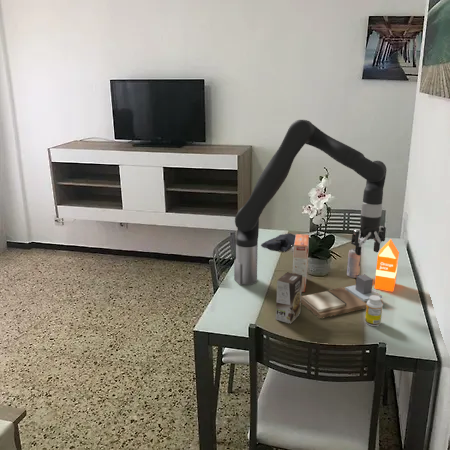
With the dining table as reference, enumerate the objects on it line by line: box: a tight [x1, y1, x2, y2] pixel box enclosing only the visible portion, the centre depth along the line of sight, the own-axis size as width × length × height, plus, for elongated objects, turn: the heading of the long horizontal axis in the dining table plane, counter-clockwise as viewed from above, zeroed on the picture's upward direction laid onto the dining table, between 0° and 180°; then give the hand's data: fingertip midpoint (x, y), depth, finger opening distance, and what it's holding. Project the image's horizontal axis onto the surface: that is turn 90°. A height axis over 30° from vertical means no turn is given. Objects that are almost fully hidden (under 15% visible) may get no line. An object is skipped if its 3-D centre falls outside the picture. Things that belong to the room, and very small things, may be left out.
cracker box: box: [292, 233, 310, 293], centre depth 200 cm, size 14×6×21 cm, turn 168°
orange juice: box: [374, 238, 400, 292], centre depth 198 cm, size 8×9×20 cm
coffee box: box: [275, 271, 302, 325], centre depth 175 cm, size 9×6×16 cm
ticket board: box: [301, 286, 367, 319], centre depth 186 cm, size 22×16×3 cm
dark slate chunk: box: [260, 232, 296, 252], centre depth 250 cm, size 15×22×5 cm
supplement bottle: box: [364, 295, 384, 327], centre depth 171 cm, size 6×6×10 cm
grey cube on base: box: [344, 274, 383, 302], centre depth 190 cm, size 9×12×7 cm
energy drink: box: [346, 248, 362, 279], centre depth 210 cm, size 5×5×12 cm
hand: (367, 253), depth 186 cm, fingers open, 8 cm apart
